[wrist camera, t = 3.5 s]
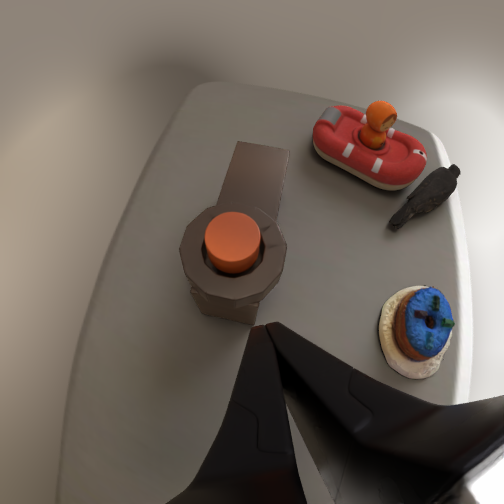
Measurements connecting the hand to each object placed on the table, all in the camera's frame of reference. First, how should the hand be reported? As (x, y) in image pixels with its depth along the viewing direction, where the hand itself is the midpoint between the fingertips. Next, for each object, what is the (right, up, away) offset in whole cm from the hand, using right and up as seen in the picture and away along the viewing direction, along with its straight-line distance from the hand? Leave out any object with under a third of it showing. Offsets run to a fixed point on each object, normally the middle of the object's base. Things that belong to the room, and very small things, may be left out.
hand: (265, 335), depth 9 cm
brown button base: (-1, +3, +16) cm, 16 cm away
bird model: (+15, +10, +18) cm, 26 cm away
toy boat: (+11, +12, +20) cm, 26 cm away
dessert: (+13, -4, +13) cm, 19 cm away
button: (-1, +3, +8) cm, 8 cm away
